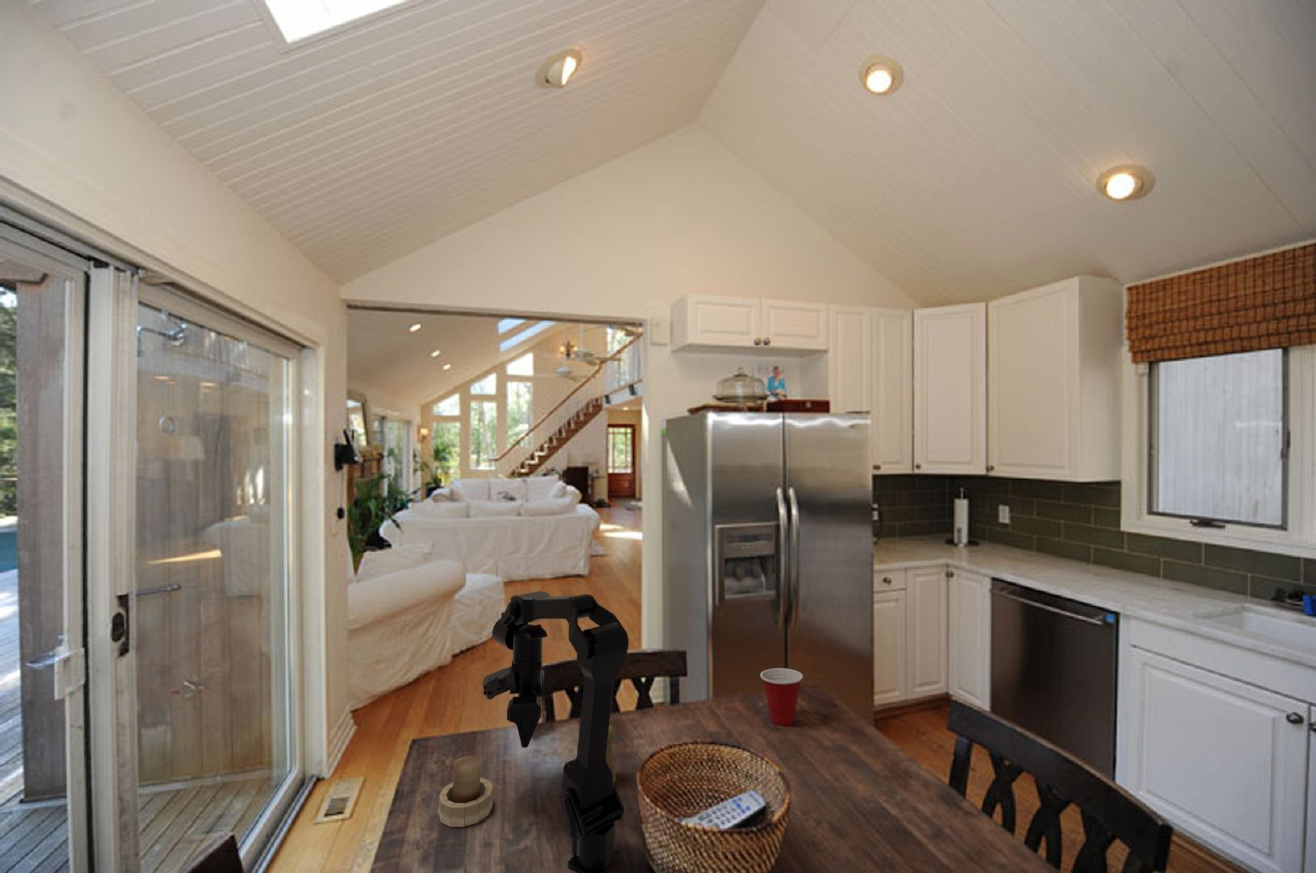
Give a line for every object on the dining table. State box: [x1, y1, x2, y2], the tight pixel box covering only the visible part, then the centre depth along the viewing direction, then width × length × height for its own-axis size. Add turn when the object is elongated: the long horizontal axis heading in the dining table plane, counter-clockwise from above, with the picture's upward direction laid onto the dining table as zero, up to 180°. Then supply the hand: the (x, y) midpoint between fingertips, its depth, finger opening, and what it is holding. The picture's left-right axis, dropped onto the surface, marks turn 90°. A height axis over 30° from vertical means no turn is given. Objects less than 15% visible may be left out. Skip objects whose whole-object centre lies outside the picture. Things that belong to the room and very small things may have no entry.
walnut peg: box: [452, 754, 482, 803], centre depth 105 cm, size 5×5×9 cm
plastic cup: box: [759, 667, 804, 727], centre depth 142 cm, size 11×11×12 cm
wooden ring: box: [438, 776, 494, 828], centre depth 105 cm, size 9×9×4 cm
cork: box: [606, 724, 617, 784], centre depth 116 cm, size 6×6×11 cm
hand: (526, 734), depth 110 cm, fingers open, 9 cm apart
